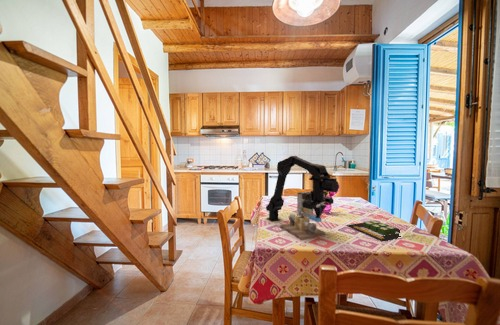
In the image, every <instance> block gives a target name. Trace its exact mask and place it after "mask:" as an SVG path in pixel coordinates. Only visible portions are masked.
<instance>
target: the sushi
mask: <svg viewBox="0 0 500 325" xmlns="http://www.w3.org/2000/svg"><path fill="white" fill-rule="evenodd" d="M345 227H347V228H350V229H351V230H355V231H357V232H359V233H361V234H364V235H366V236H368V237H371V238H373V239H375V240H377V241H379V240H380V241H379V242H382V241H385V242H389V241H388V240H390V241H393V239H395V240H398V239H397V238H398V237H401V236H399V233H400V230H401V229H400V228H397V227H395V226H391V225H388V224H386V223H383V222H380V221H378V220H371V221H363V222H359V223H358V222H357V223H353V224H352V223H351V224H345ZM364 228H365V229H364ZM366 229H367V230H366ZM399 229H400V230H399ZM398 232H399V233H398ZM376 233H377V234H376ZM395 233H396V234H395ZM389 234H391V235H389ZM384 235H385V236H384Z"/></svg>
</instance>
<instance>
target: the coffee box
mask: <svg viewBox="0 0 500 325" xmlns="http://www.w3.org/2000/svg"><path fill="white" fill-rule="evenodd" d="M310 192H311V191H303V192H297V196H296V197H297V200H296V201H297V203H296V204H297V205H296V206H297V207H296V208H297V209H296V210H297V211H296V212H297V213H296V214H297V216H301V215H299V211H304V212H305V213H308V214H310V215H314V209H308V208H304V207H302V203H303V202H305V200H303V199H302V194H303V193H307V194H310ZM306 201H310V200H306ZM311 202H313V201H311Z"/></svg>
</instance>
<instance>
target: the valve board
mask: <svg viewBox="0 0 500 325" xmlns="http://www.w3.org/2000/svg"><path fill="white" fill-rule="evenodd" d="M288 220H289V223H284V224H280V225H279V228H281V229H282V230H284V232H285V231H286V232H287V233H288V234H290V235H292V236H294V237H296V238H297V239H299V240H301V241H304V240H307V239H313V238H317V237H323V236H326V232H325V231H323V230H321V229H319V228H317V227H318V226H317V224H316V223H314V222H310V218H308V217H306V216H303V215H301V216H298V215H297V216H296V214H294V213H290V214H289V216H288Z"/></svg>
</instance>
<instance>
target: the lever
mask: <svg viewBox="0 0 500 325" xmlns="http://www.w3.org/2000/svg"><path fill="white" fill-rule="evenodd" d="M299 215H303V216H306V217H308V218H310V219H309V221H310V220H311V221H314V222H316V223H320V222H322V217H321V216H320V217H318V216H316V214H313V215H310V214H308V213H305V212H304V211H299Z"/></svg>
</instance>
